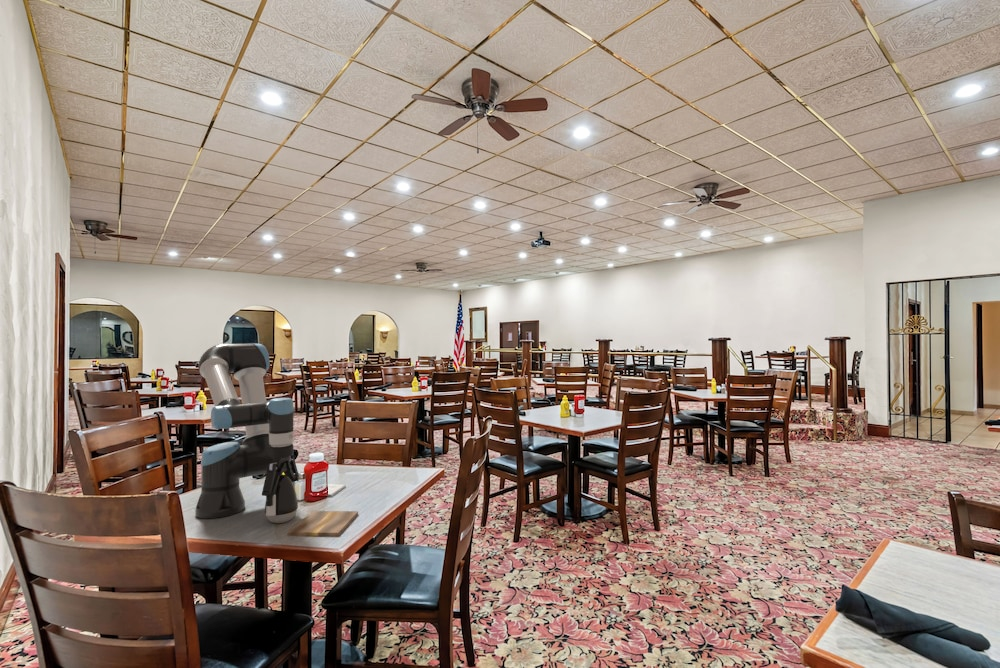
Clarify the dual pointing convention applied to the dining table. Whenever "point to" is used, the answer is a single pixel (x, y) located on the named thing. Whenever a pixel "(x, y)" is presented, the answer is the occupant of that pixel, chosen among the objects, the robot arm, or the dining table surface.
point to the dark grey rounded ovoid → (284, 501)
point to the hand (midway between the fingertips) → (281, 507)
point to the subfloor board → (323, 523)
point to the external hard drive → (334, 489)
